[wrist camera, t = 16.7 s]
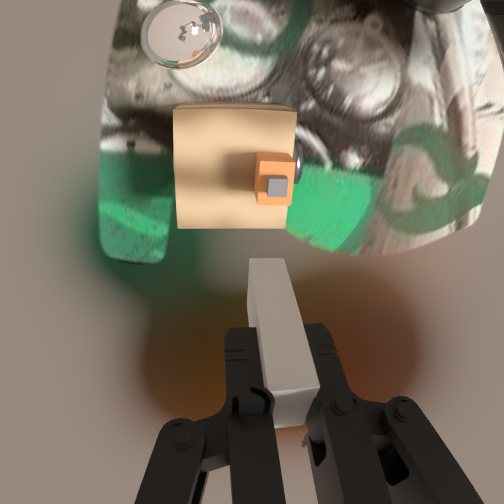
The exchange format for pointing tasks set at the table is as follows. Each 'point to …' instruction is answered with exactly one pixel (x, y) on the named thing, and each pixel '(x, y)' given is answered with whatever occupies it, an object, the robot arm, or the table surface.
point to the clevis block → (227, 162)
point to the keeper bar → (274, 178)
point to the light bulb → (181, 33)
